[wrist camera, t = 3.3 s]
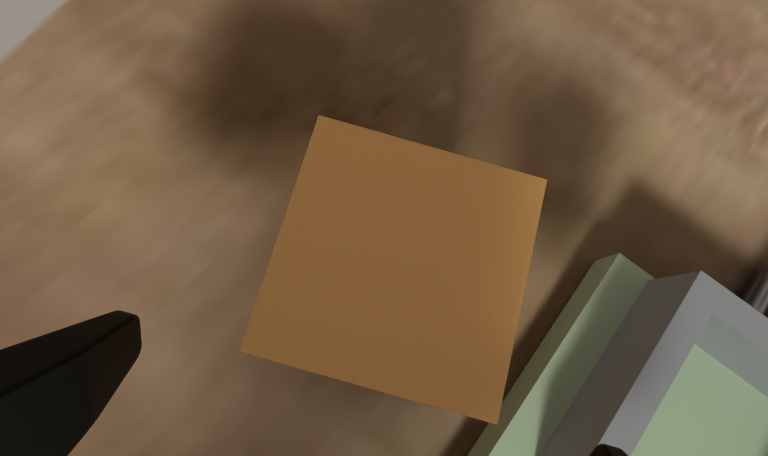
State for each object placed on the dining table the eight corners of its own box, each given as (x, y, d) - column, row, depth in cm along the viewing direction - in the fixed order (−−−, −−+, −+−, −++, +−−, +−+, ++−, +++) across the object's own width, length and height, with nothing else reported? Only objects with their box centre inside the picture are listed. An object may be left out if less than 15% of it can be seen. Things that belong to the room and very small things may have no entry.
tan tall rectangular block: (411, 372, 20) (497, 425, 8) (307, 342, 20) (238, 351, 8) (438, 268, 21) (547, 179, 9) (338, 240, 21) (318, 115, 9)
